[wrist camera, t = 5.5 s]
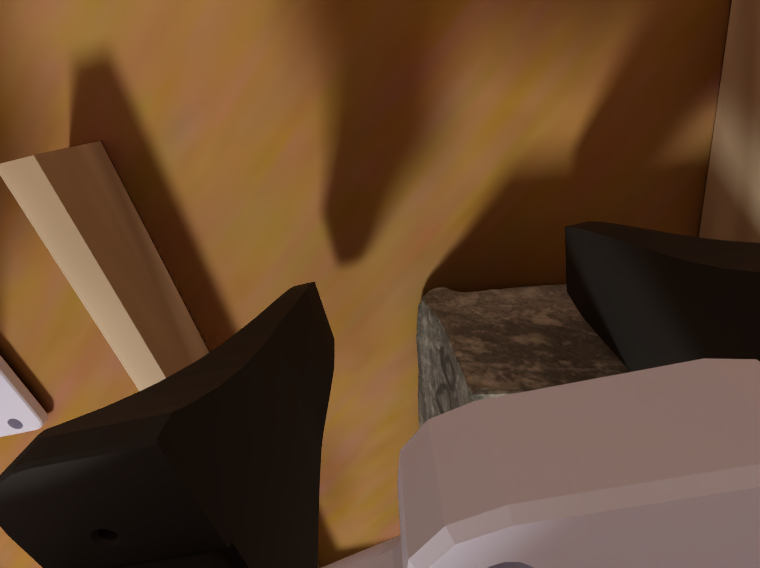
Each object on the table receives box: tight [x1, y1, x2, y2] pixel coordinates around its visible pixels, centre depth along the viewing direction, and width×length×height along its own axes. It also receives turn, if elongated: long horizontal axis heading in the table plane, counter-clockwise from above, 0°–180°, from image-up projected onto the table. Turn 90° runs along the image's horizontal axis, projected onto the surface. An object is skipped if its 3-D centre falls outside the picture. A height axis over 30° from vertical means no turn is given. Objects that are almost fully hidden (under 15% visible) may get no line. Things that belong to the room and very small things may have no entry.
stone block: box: [416, 284, 630, 429], centre depth 14 cm, size 9×14×5 cm, turn 2°
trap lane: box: [0, 0, 760, 568], centre depth 14 cm, size 24×23×2 cm
